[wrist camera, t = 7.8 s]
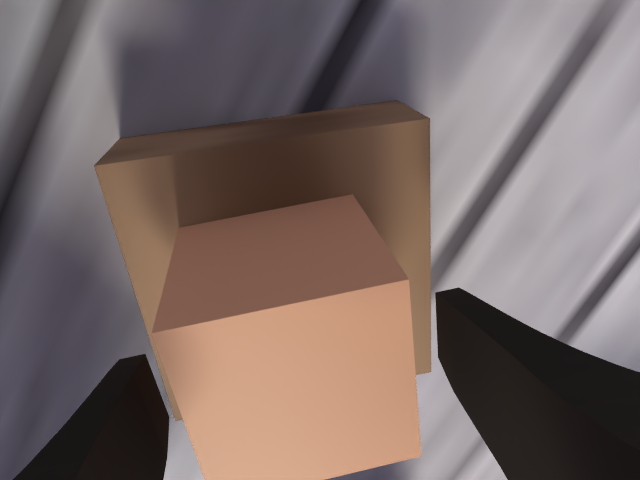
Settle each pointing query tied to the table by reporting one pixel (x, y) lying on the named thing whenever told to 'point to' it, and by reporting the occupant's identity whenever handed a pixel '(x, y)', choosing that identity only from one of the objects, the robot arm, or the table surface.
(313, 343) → the terracotta block
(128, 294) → the table surface
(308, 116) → the tan square block
